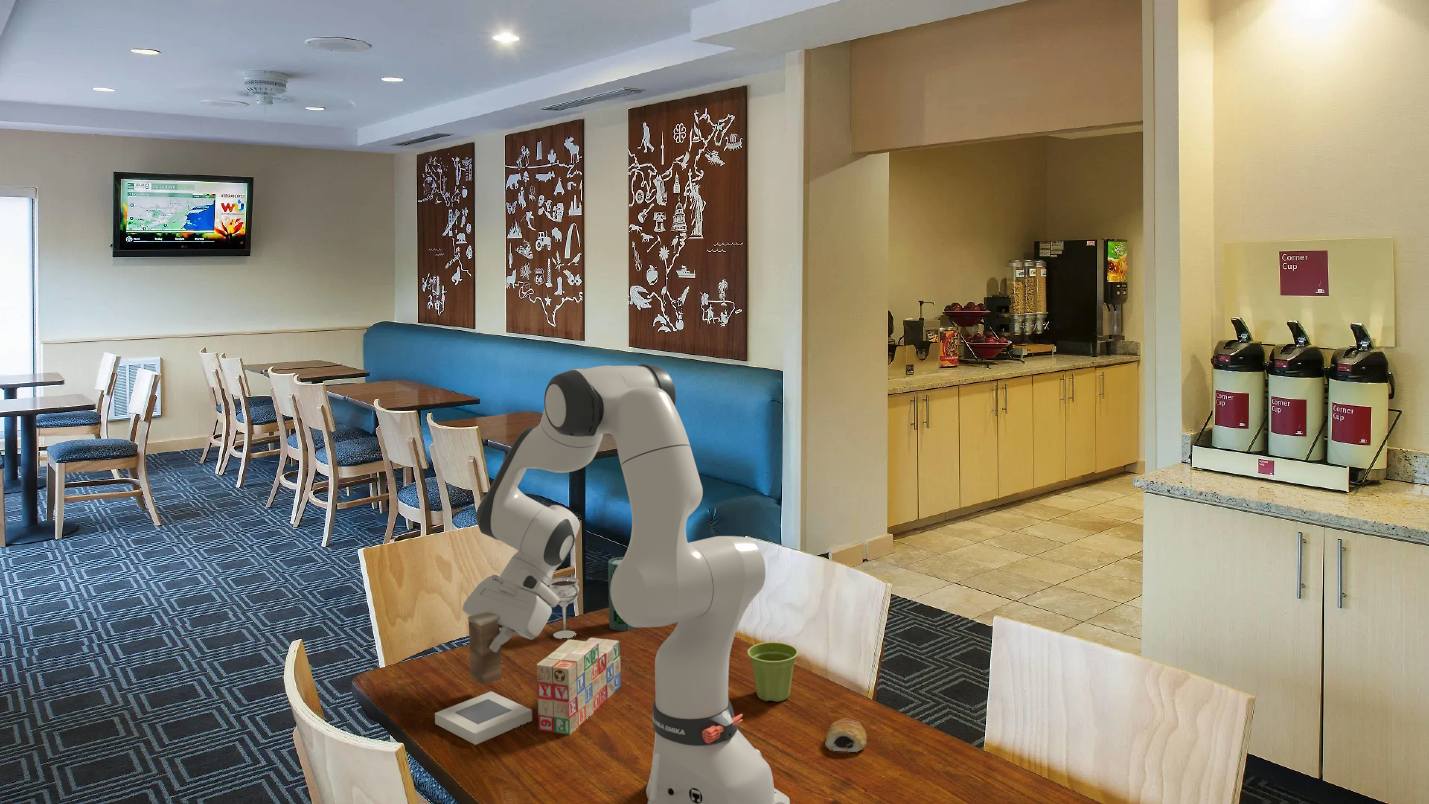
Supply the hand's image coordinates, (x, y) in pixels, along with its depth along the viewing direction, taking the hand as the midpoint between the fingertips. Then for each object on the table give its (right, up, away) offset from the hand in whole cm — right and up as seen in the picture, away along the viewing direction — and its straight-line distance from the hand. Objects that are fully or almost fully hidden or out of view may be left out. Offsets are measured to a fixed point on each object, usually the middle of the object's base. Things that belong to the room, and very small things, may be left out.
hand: (482, 646), depth 187 cm
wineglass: (+11, -6, +33) cm, 35 cm away
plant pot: (+54, -10, +1) cm, 55 cm away
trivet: (+2, -11, -9) cm, 15 cm away
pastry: (+65, -12, -17) cm, 69 cm away
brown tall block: (+1, -6, +1) cm, 6 cm away
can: (+23, -5, +38) cm, 44 cm away
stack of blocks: (+19, -11, -3) cm, 22 cm away
